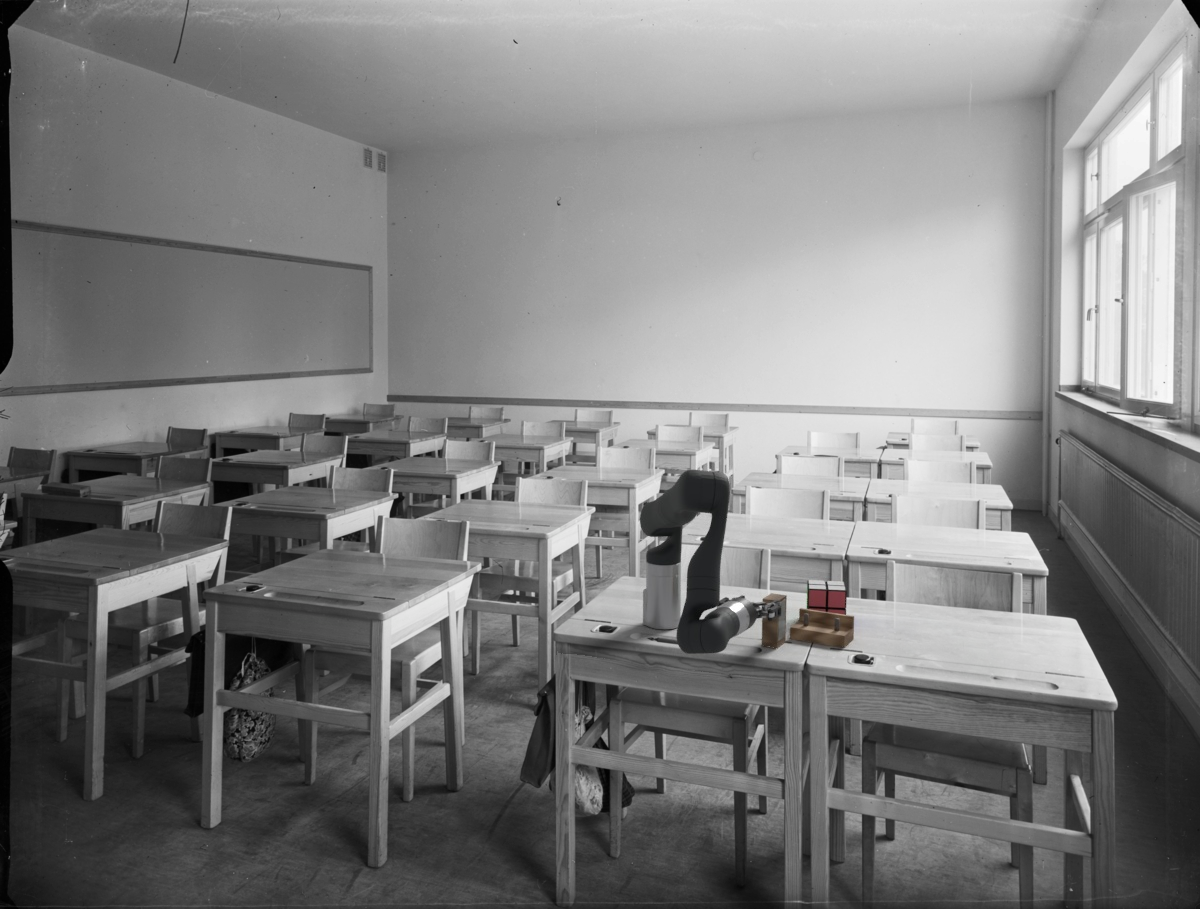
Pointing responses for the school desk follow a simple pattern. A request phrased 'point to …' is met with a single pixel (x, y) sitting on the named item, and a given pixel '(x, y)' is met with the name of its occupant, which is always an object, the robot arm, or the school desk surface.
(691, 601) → the robot arm
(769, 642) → the wooden blocks
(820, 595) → the puzzle cube
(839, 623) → the wooden peg holder
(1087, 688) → the school desk surface
